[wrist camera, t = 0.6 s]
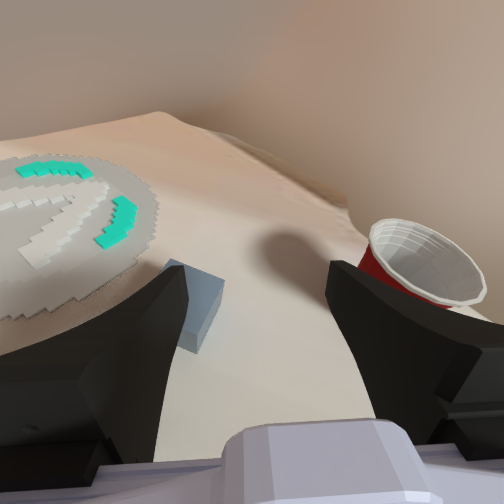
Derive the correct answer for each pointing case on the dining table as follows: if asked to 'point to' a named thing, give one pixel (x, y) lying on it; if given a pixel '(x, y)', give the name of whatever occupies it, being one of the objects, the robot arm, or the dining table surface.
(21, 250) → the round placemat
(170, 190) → the dining table surface
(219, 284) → the cover
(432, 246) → the plastic cup
